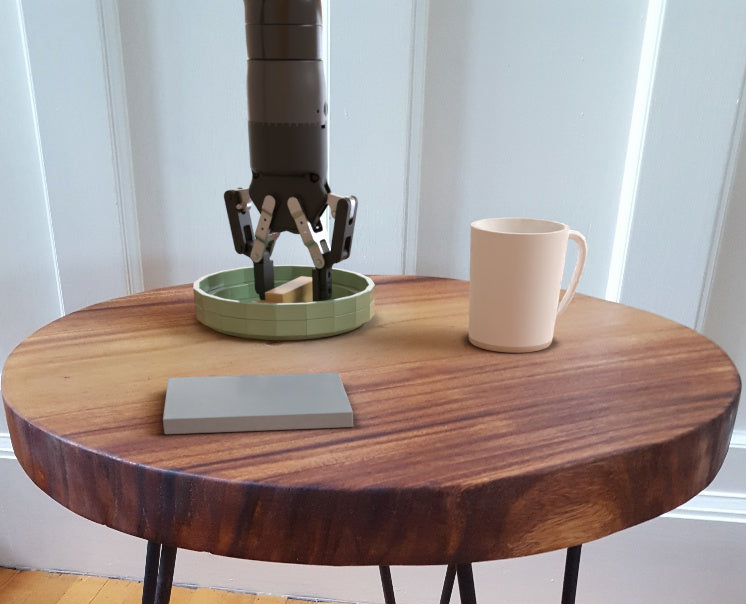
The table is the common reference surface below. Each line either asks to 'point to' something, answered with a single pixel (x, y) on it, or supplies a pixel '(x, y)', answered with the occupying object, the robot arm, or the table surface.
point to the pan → (282, 305)
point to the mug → (519, 281)
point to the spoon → (291, 292)
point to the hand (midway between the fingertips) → (293, 301)
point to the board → (256, 403)
